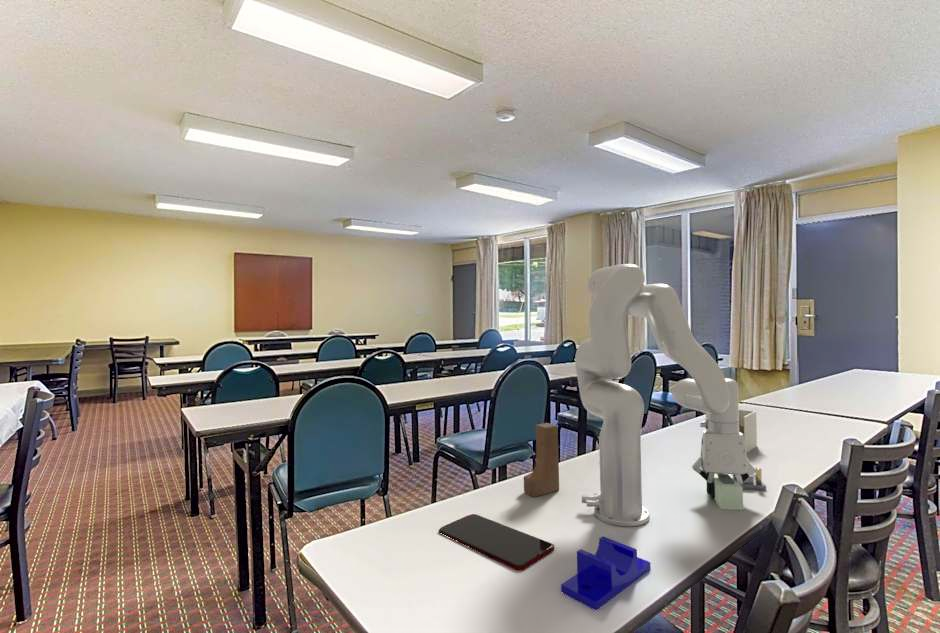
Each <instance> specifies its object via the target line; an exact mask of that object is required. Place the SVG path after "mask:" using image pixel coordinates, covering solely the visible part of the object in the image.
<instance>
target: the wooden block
mask: <svg viewBox="0 0 940 633" xmlns="http://www.w3.org/2000/svg"><path fill="white" fill-rule="evenodd" d="M558 427H559V426H558V425H556V424H553V423H549V422H543V423H540V424H535V449H536V454H535V456H536V462H535V467H534V468H533V470H532V472H531V473H528V474H526V475H524V476H523V493H525V494H527V495H529V496H531V497H532V498H536V497H539V496H543V495H547V494H551V493H554V492H559V491H560V467H559V463H560V462H559V432H558V431H559V429H558Z"/></svg>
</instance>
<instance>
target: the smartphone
mask: <svg viewBox="0 0 940 633" xmlns="http://www.w3.org/2000/svg"><path fill="white" fill-rule="evenodd" d="M438 532H439V533H442V534H444V535H446V536H448V537H450V538H452V539H454V540H457V541H458V542H460V543H462V544H464V545H466V546H469V547H470V548H472V549H471V550H473V549H474V550H473V551H475V550H476V551H475V552H477V551H478V552H477V553H479V552H480V553H479V554H481V553H482V554H481V555H483V554H484V555H483V556H485V555H486V556H485V557H487V556H488V558H490V559H492V560H494V561H496V562H498V563H501V564H502V563H503V564H502V565H505V566H507V567H509V568H512V570H516V571H518V570H522V571H524V570H526V569H527V568H529V567H531V566H532V565H533V564H536V563H537V562H538V560H539V561H540V560H542V559H543V558H545V557H547V556H548V555H550V554H551V553H553V552H554V551H555V544H553V543H551V542H549V541H547V540H544V539H541V538H539V537H536V536H534V535H530V534H528V533H525V532H523V531H520V530H518V529H515V528H513V527H510V526H507V525H505V524H502V523H500V522H497V521H494V520H491V519H489V518H487V517H484V516H481V515H480V514H479V515H478V514H476V513H471V514H468V515H465V516H463V517H461V518H459V519H457V520H455V521H451V522H449V523H448V524H445V525H443V526H441V527H440V528H439V529H438ZM439 533H438V534H439ZM452 539H451V540H452ZM454 540H453V541H454ZM458 542H457V543H458ZM460 543H459V544H460ZM462 544H461V545H462ZM464 545H463V546H464ZM466 546H465V547H466ZM470 548H469V549H470ZM541 558H542V559H541ZM530 565H531V566H530Z"/></svg>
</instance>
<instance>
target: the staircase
mask: <svg viewBox="0 0 940 633" xmlns="http://www.w3.org/2000/svg"><path fill="white" fill-rule="evenodd" d="M739 432H741V433H742V434H743V436H744V440H745V446H746V453H749V452H750V451H752V450H753V449H755V448H756V447H757V446H758V434H757V433H758V432H757V411H755V410H748V409H747V410H746V409H739Z"/></svg>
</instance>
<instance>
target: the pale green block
mask: <svg viewBox="0 0 940 633" xmlns="http://www.w3.org/2000/svg"><path fill="white" fill-rule="evenodd" d="M713 483H714V484H715V498H714V499H713V500H714V502H715V501H716V502H715V503H716V505H717V506H718V508H719V509H720V510H731V511H732V510H735V511H744V492H743V491H744V489H743V488H742V486H741V485H740V484H739V483H738V482H737V481H736V480H735V478H734V477H733V476H732V475H731V474H719V473H715V475H714V478H713Z"/></svg>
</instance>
